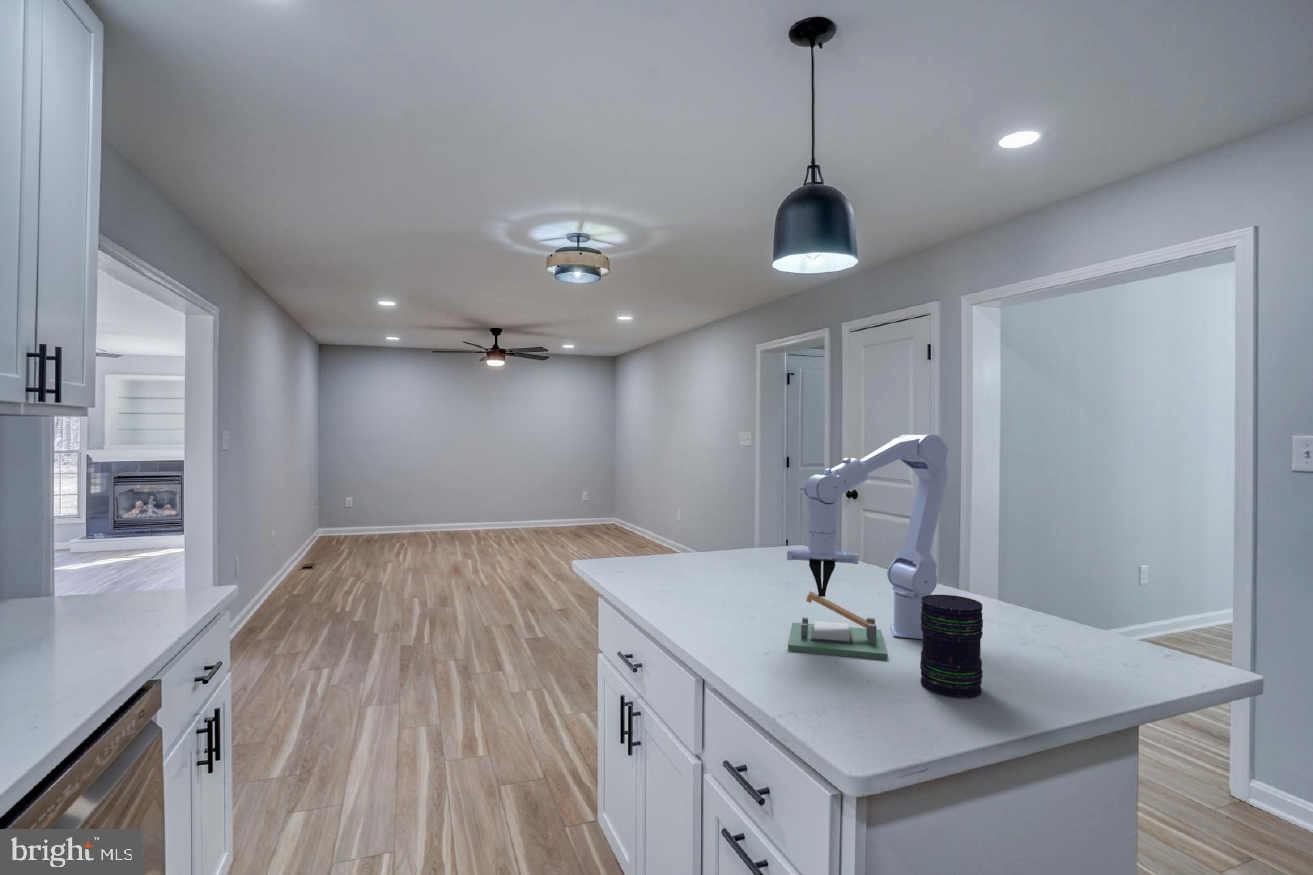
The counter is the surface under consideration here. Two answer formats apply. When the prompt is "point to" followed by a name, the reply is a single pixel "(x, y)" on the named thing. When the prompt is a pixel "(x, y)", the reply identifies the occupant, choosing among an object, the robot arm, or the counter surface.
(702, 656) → the counter surface
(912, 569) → the robot arm
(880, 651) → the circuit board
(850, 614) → the hold-down strap
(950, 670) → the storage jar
